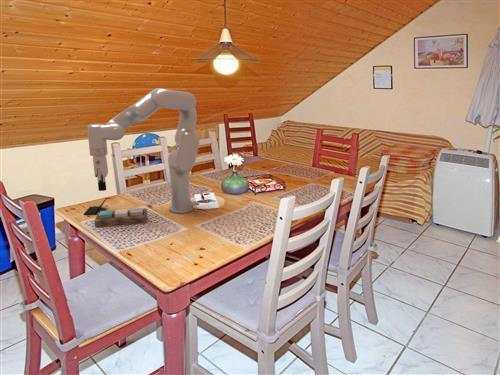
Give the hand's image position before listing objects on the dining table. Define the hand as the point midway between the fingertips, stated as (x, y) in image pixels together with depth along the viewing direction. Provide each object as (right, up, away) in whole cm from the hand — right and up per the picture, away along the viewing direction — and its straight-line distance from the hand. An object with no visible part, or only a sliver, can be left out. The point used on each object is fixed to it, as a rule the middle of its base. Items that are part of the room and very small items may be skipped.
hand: (102, 190), depth 177 cm
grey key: (+14, -12, +7) cm, 20 cm away
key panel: (+7, -15, +6) cm, 18 cm away
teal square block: (0, -13, +4) cm, 14 cm away
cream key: (+7, -13, +6) cm, 16 cm away
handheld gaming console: (-11, -11, +19) cm, 25 cm away
